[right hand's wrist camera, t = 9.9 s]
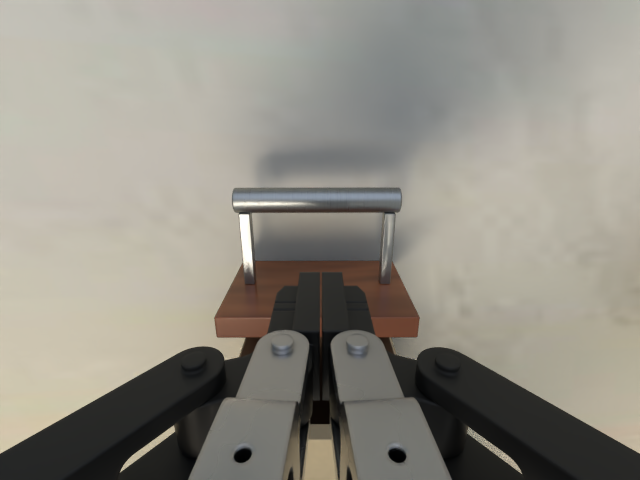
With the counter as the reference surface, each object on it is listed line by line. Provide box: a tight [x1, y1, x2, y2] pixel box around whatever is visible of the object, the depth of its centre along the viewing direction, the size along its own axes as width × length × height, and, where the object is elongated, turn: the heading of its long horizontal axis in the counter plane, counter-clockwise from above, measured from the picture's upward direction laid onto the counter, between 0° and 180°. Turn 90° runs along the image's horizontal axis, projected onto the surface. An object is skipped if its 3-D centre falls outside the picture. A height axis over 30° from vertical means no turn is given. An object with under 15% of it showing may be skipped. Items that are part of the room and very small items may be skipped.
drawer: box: [214, 188, 419, 424], centre depth 21 cm, size 20×10×7 cm, turn 0°
